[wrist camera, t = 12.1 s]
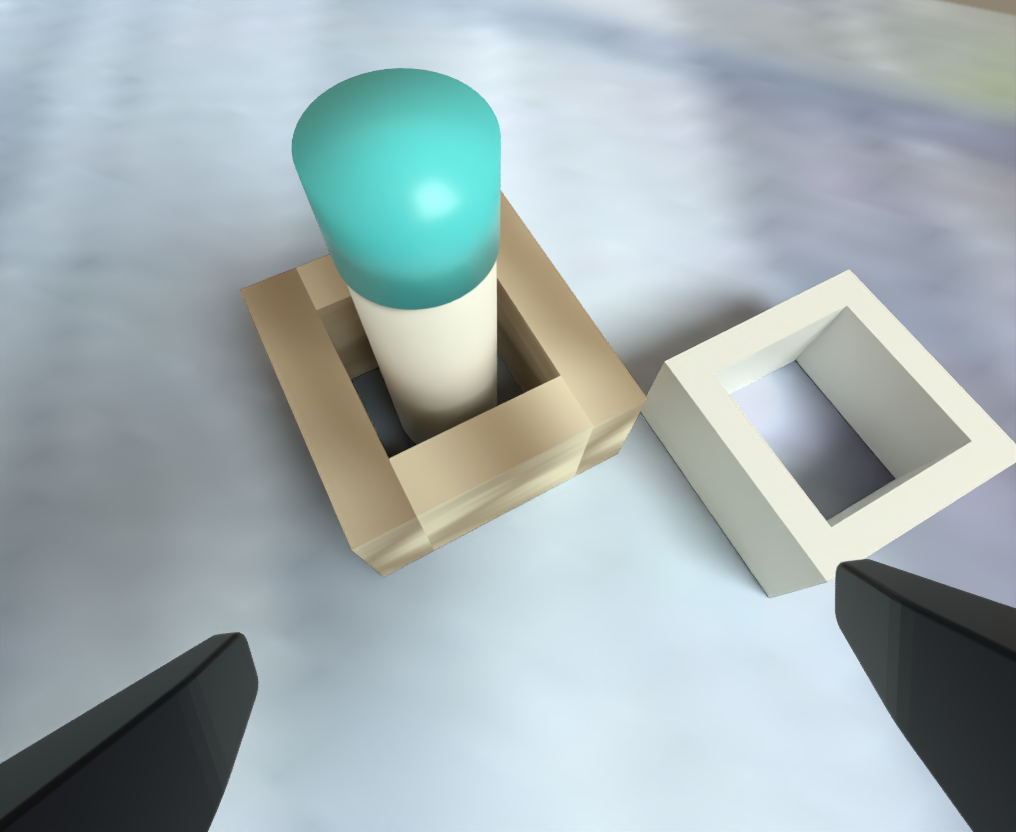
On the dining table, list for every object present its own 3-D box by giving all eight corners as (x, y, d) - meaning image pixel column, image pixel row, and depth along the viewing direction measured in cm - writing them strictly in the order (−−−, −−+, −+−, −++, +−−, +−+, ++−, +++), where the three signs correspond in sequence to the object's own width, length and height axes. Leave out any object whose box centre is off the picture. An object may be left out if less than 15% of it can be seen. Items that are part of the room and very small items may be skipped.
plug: (502, 453, 23) (505, 214, 11) (395, 458, 23) (280, 221, 11) (497, 360, 25) (496, 66, 13) (397, 363, 24) (301, 70, 13)
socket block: (384, 577, 21) (351, 549, 16) (288, 361, 24) (240, 289, 20) (618, 453, 23) (647, 398, 18) (498, 271, 26) (498, 187, 22)
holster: (769, 598, 21) (827, 581, 17) (639, 409, 24) (664, 361, 20) (940, 491, 22) (1026, 455, 19) (798, 327, 25) (849, 269, 22)
